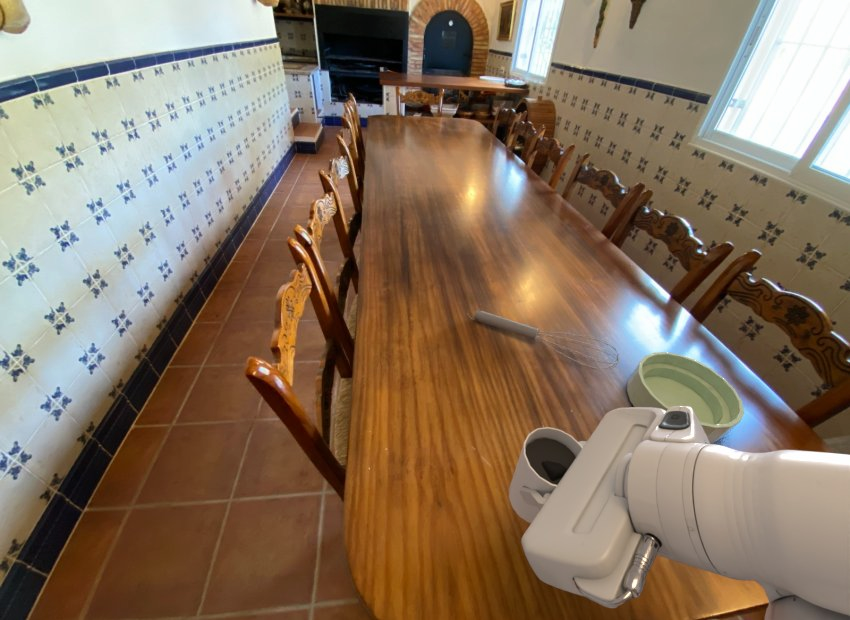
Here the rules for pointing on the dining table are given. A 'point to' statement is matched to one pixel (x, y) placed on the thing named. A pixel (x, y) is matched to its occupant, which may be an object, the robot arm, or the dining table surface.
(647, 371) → the bowl
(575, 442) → the white coffee cup
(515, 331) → the kitchen whisk
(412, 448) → the dining table surface
